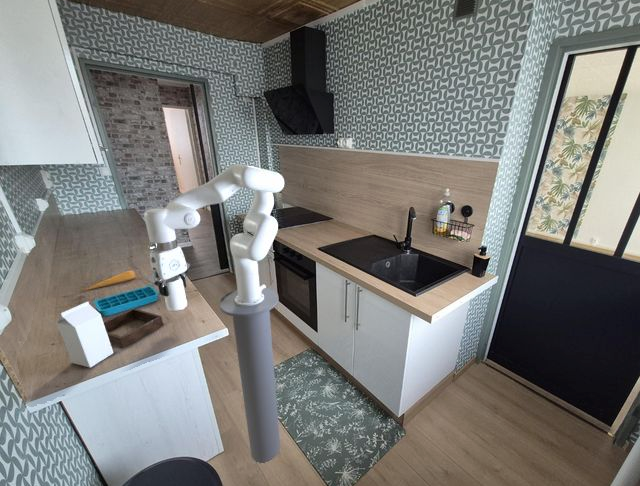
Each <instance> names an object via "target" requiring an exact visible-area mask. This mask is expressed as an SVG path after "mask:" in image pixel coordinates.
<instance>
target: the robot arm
mask: <svg viewBox="0 0 640 486" xmlns="http://www.w3.org/2000/svg"><path fill="white" fill-rule="evenodd" d="M284 187H285V179H284V176H283V175H282V174H280V172H277V171H273V170H268V169H264V168H260V167H255V166H251V165H247V164H240V163H235V164H232V165H230V166H229V167H227V168H226V169H224V170H222V171H221V172H220V173H219V174H217V175H216V176H214V177H213V178H211V179H210V180H209V181H207V182H206V183H204V184H201V185H199V186H196V187H195V188H192V189H190V190H188V191H186V192H183V193H182V194H180V195H179V196H177V197H175V199H173V200H171V201H170V202H169V203H167V205H166V206H165V208H161V207H159V208H157V207H156V208H150V209H147V210H145V211H144V213H143V218H144V222H145V226H146V227H145V228H146V231H147V235H148V239H149V244H150V245H149V246H147V250H149V251H150V252H149V253H150V254H149V261H150V268H151V273H150V275H149V276H148V278H147V279H146V281H147V282H148V283H150V284H152V285H154V286H157V287H158V290H159V291H158V292H159V295H161V296H163V297H164V296H166V297H167V296H169V293H168V288H167V286H165V283H166V280H167V279H170V278H172V277H174V276H177V275H178V276H180V277H181V279H182V281H183V285H184V289H186V288H187V281H186V280H187V279H186V277H187V273H188V272H189V269H190V266H191V263H189V262H187V261H186V258H185V255H184V252H183V250H182V247H181V246H180V245H178V240H177V235H176V230H189V229H190V230H191V229H194V228H195V227H198V225H199V224H200V222H201V215H200V213H199V212H198V211H197V210H198V209H200V208H203V207H206V206H210V205H217V204H221V203H224V202H225V201H227V200H228V199H230V197H232V196H233V195H234V194H235V193H237V192H238V191H239V190H241V189H242V188H245V189H249V190H253V194H254V195H253V196H254V197H253V200H252V203H251V205H250V207H249V209H248V211H247V213H246V214H245V218H244V219H243V227H244V230H246V231H248V232H249V233H251V234H253V235H250V234H248V233H243V232H241V233H236V234H234V235H233V236H232V237H231V238H230V241H229V249H230V253H231V256H232V260H233V265H234V273H235V282H236V288H237V289H236V290H238V296H236V298H235V302H236V304H238V305H240V306H253V305H256V304H259V303H260V302H262V301H263V300H264V294H263V293H261V291H262V289H264V288H267V286H266V285H265V284H264V283H263V284H262V285H261V284H260V275H259V264H258V262H260V261H262V260H263V259H265V257H266V256H267V255H268V253H269V251H270V248H271V247H272V245H273V242H274V240H275V238H276V237H277V233H278V229H279V223H278V220H277V219H276V218H275V217H274V216H272V215H271V213H272V211H273V209H274V205H275V198H274V194H276V193H279V192H281V191H282V190H283V189H284Z"/></svg>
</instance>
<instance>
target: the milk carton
mask: <svg viewBox="0 0 640 486" xmlns="http://www.w3.org/2000/svg"><path fill="white" fill-rule="evenodd" d="M89 302H90V301H85V302H83V303H81V304H79V305H76V306H73V307H72V308H69V309H67V310H64V311H62V312H61V313H60V316H61V317H60V318H59V319H58V320H57V322H56V326H57V328H58V331H59V333H60V336H61V338H62V341H63V344H64V346H65V348H66V351H67V353H68V356H69V358H70V360H71V363H72V364H75V365H79V366H83V367H86V368H89V369H90V368H92V367H95V366H96V365H97V364H99V363H100V362H102V361H103V360H105V359H107V358H108V357H109V356H112V355H113V354H114V351H113V346H112V344H110V341H109V338H108V335H107V332H106V329H105V326H104V323H103V322H104V321H103V317H102V313H101V312H99V311H98V310H97V309H96V308H95V307H93V306H92V305H91V304H90V303H89Z"/></svg>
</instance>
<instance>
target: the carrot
mask: <svg viewBox="0 0 640 486" xmlns="http://www.w3.org/2000/svg"><path fill="white" fill-rule="evenodd" d="M136 276H137V275H136V273H135V271H133V270H126V271H124V272H122V273H120V274H119V273H118V274H117V275H115V276H112V277H109V278H108V279H105V280H103V281H101V282H98V283H95V284H93V285H92V286H89V287H87V288H86V289H83V290H82V292H83V291H88V290H89V291H90V290H93V289H98V288H102V287H106V286H111V285H115V284H119V283H122V282H127V281H130V280H133V279H135V278H136Z"/></svg>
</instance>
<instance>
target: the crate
mask: <svg viewBox="0 0 640 486" xmlns="http://www.w3.org/2000/svg"><path fill="white" fill-rule="evenodd" d="M134 319H137V320H140V321H144V322H146V323H144V324H142V325H139V326H138V327H135V328H134V329H132V330H131V331H129V332H127V333H125V334H123V335H122V336H121V335H118V334H115V333H111V332H110V331H112V330H114V329H116V328H119V327H120V326H123V325H125V324H126V323H128V322H130V321H133V320H134ZM103 323H104V326H105V329H106V332H107V335H108V338H109V341H110V344H111V345H113V346H116V347H119V348H122V349H124V348H126V347H128V346H130V345H131V344H133V343H135V342H137V341H138V340H140V339H142V338H144V337H145V336H147V335H149V334H151V333H153V332H154V331H156V330H157V329H159V328H161V327H162V326H164V321H163V317H162V315H159V314H155V313H153V312H148V311H146V310H141V309H139V308H136V307H135V308H131V309H128V310H125V311H123V312H122V313H120V314H118V315H115V316H113V317H111V318H109V319H107V320H104V321H103Z"/></svg>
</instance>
